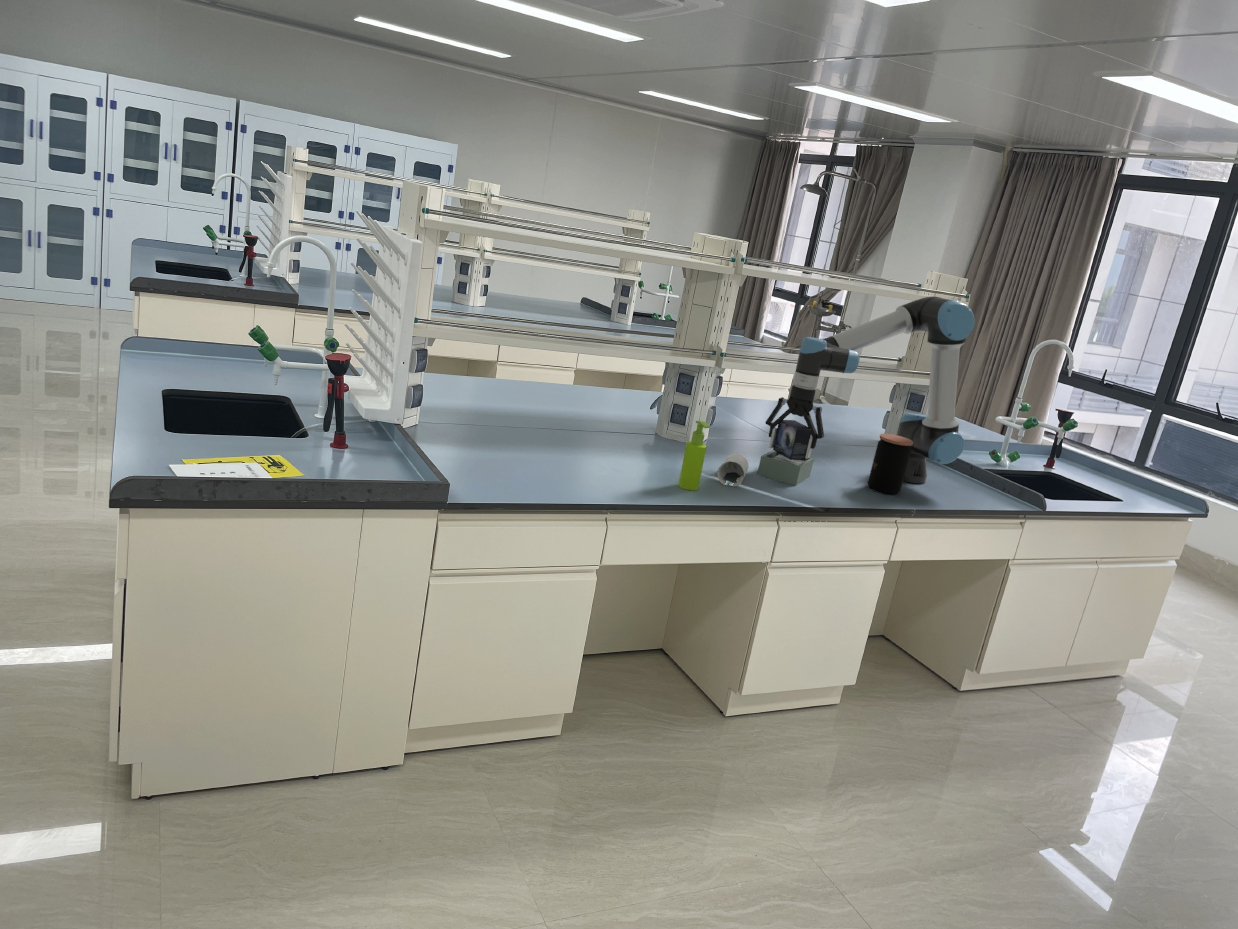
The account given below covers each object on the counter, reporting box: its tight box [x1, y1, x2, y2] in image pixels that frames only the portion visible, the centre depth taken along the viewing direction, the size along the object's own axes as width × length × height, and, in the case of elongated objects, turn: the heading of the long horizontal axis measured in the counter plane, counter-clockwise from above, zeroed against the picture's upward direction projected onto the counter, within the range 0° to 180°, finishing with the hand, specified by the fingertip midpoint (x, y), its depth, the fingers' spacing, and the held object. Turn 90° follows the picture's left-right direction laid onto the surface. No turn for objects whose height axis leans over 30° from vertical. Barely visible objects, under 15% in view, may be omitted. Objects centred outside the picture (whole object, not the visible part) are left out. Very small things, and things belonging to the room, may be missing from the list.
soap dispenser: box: [678, 420, 711, 491], centre depth 253 cm, size 6×7×20 cm
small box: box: [772, 419, 812, 460], centre depth 281 cm, size 11×6×10 cm, turn 24°
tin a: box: [775, 454, 805, 464], centre depth 286 cm, size 9×6×5 cm
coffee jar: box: [867, 433, 913, 496], centre depth 287 cm, size 11×11×18 cm
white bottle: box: [716, 452, 749, 487], centre depth 271 cm, size 8×19×8 cm, turn 165°
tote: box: [756, 449, 815, 487], centre depth 283 cm, size 13×16×7 cm
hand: (789, 452), depth 282 cm, fingers closed on small box, 11 cm apart
